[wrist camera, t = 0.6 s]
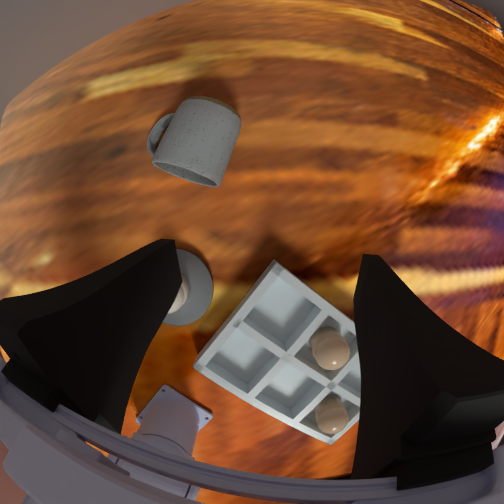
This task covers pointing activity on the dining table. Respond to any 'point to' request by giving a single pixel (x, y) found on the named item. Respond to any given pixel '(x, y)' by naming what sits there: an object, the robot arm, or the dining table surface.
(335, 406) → the brown egg
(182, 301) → the cream egg
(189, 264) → the grey round disc
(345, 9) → the dining table surface
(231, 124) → the ceramic mug
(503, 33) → the dining table surface
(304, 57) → the dining table surface
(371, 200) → the dining table surface
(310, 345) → the brown egg
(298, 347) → the egg carton
